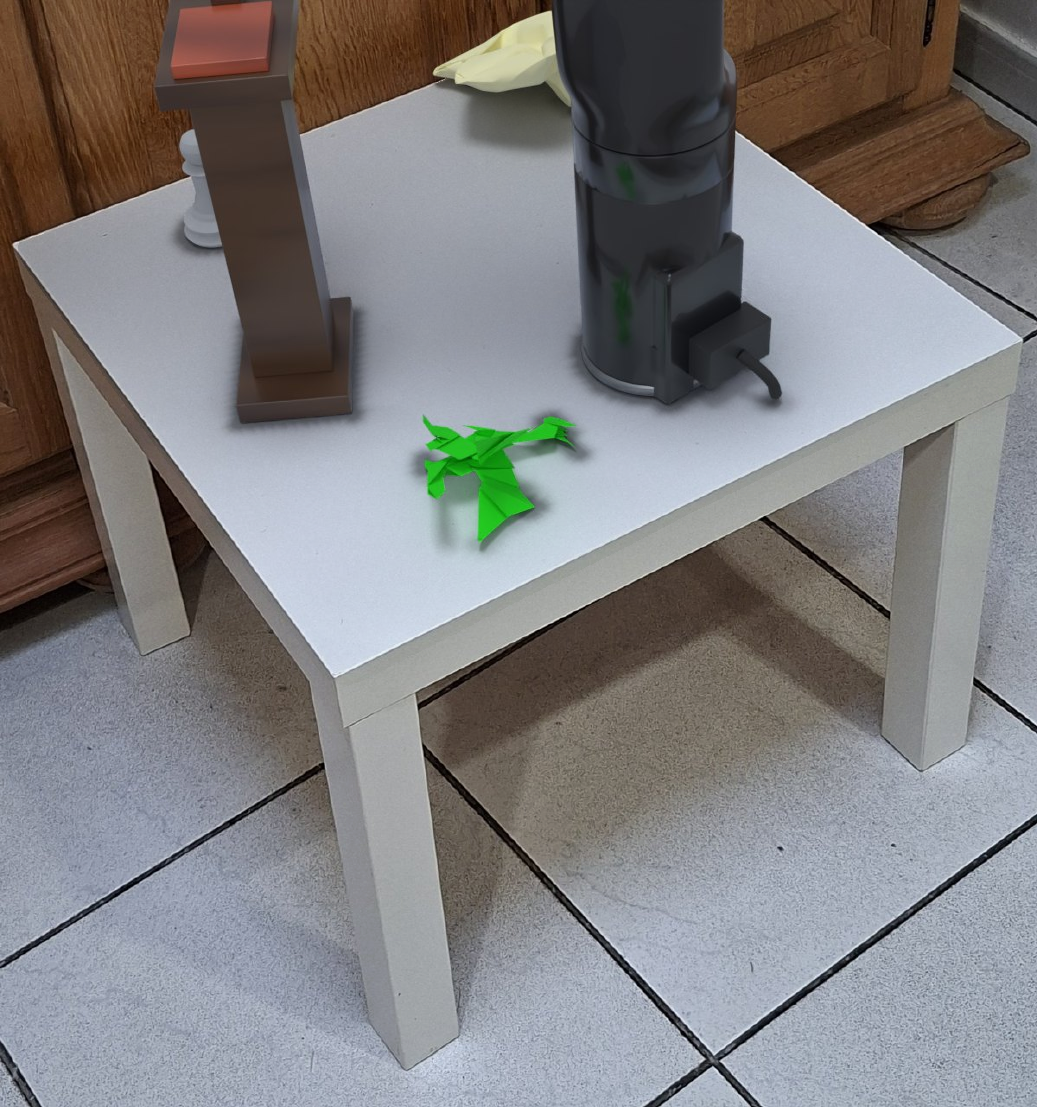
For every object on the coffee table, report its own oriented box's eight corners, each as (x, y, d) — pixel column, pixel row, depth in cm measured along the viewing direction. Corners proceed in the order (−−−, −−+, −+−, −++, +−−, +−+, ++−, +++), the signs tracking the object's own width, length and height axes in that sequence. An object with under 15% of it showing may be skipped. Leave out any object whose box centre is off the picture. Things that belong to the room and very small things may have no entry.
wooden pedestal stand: (249, 322, 109) (170, -8, 91) (354, 313, 108) (295, -19, 91) (240, 423, 102) (153, 86, 85) (351, 414, 102) (287, 74, 84)
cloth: (427, 57, 131) (455, 129, 134) (438, 97, 114) (470, 179, 117) (687, -50, 130) (710, 25, 132) (737, -24, 113) (763, 61, 116)
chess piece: (196, 208, 118) (171, 111, 112) (258, 211, 117) (237, 113, 112) (176, 248, 115) (150, 149, 109) (241, 250, 114) (218, 152, 108)
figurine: (435, 459, 102) (581, 464, 101) (401, 547, 92) (564, 554, 91) (431, 366, 99) (581, 370, 98) (396, 446, 89) (564, 452, 88)
